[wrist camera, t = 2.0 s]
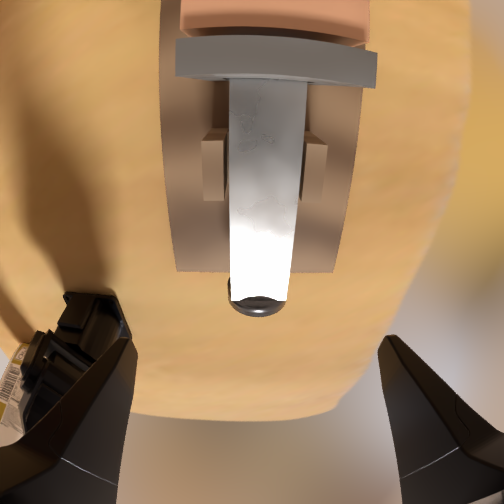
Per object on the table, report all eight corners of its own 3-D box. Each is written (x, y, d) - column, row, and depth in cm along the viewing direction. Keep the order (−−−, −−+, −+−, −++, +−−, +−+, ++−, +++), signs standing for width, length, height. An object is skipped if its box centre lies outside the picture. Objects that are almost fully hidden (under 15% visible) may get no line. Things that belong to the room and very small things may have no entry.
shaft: (283, 277, 20) (289, 316, 17) (229, 277, 20) (226, 316, 17) (302, -13, 9) (318, -37, 6) (230, -17, 9) (225, -44, 6)
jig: (329, 265, 22) (364, 362, 14) (179, 263, 22) (150, 364, 14) (359, 4, 11) (446, -38, 3) (166, -6, 11) (98, -64, 3)
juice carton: (44, 342, 29) (-1, 456, 13) (73, 376, 34) (43, 479, 18) (15, 337, 29) (-28, 435, 14) (43, 370, 34) (12, 461, 18)
